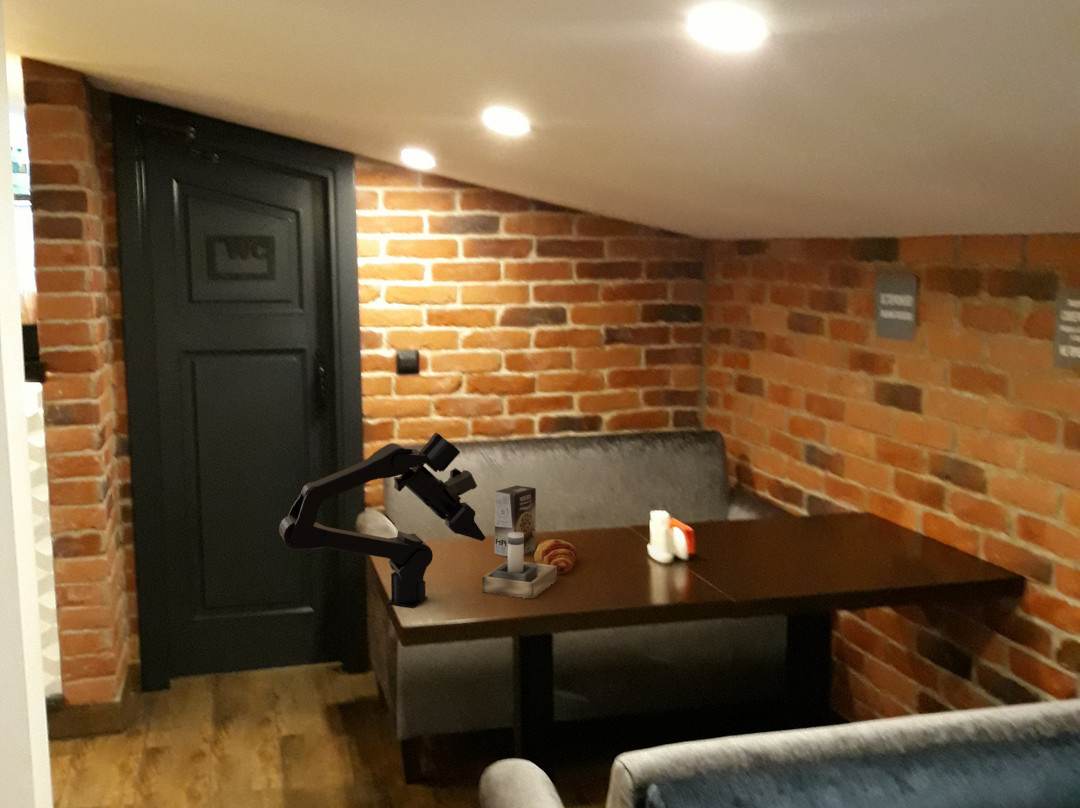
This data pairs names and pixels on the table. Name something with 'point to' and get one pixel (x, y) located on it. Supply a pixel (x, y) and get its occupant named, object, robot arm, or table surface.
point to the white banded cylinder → (515, 552)
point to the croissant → (556, 554)
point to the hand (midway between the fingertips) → (478, 533)
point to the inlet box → (520, 580)
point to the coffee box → (515, 517)
